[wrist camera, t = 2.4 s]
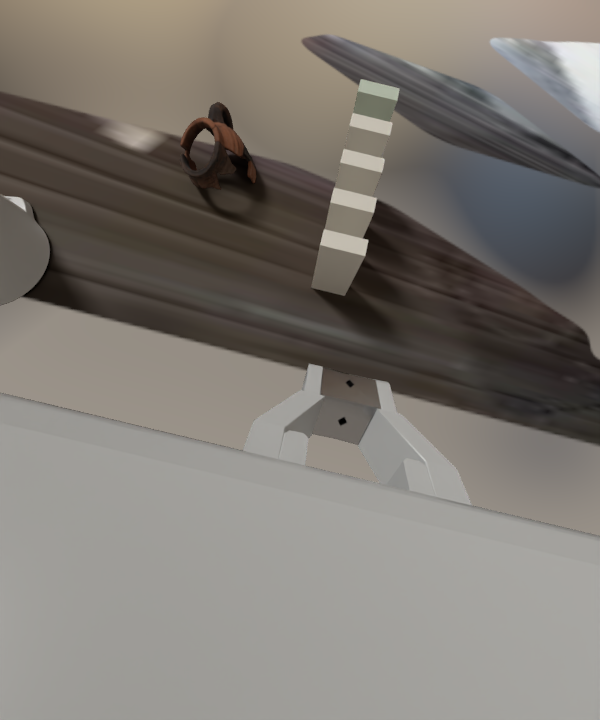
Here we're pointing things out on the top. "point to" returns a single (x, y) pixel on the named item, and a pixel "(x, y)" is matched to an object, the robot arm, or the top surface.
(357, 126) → the domino
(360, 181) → the domino
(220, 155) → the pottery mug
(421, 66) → the top surface
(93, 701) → the robot arm
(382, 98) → the domino
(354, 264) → the domino
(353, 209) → the domino
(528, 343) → the top surface
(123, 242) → the top surface
